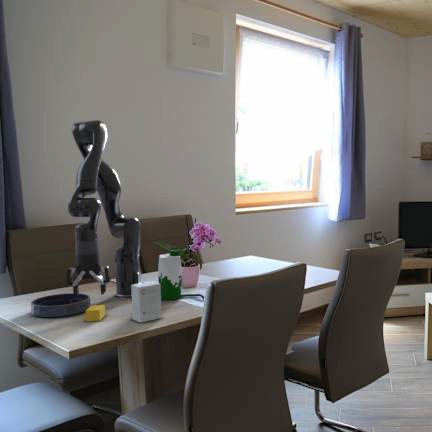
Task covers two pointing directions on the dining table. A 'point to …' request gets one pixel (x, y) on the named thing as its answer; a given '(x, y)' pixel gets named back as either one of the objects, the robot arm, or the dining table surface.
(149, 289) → the small box
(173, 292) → the milk carton
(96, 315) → the yellow block
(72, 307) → the bowl
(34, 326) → the dining table surface
